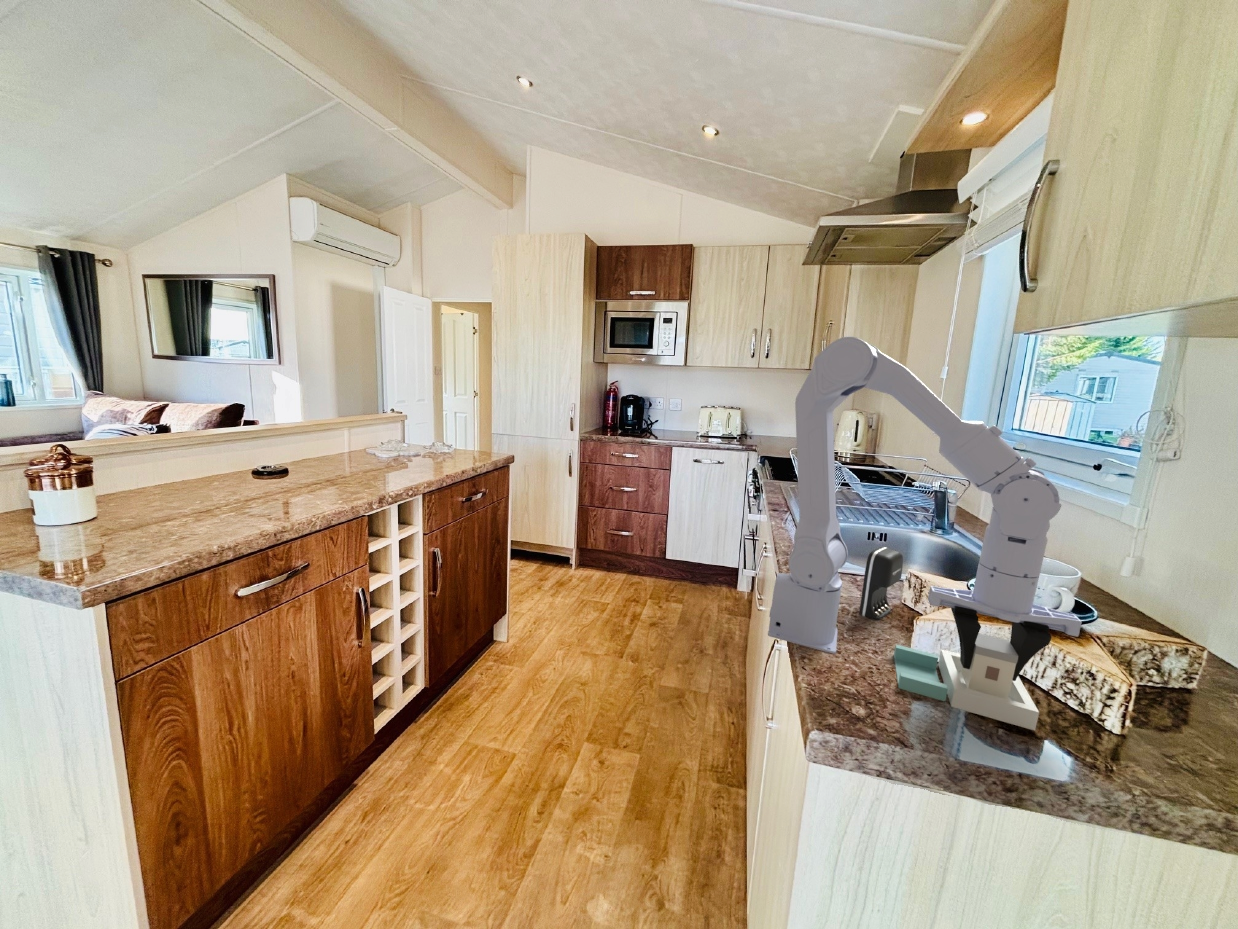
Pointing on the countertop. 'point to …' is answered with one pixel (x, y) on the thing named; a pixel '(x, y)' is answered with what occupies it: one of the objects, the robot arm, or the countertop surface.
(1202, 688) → the countertop surface
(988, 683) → the block
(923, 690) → the holder
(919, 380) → the robot arm
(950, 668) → the tray
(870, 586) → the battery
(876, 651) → the countertop surface
